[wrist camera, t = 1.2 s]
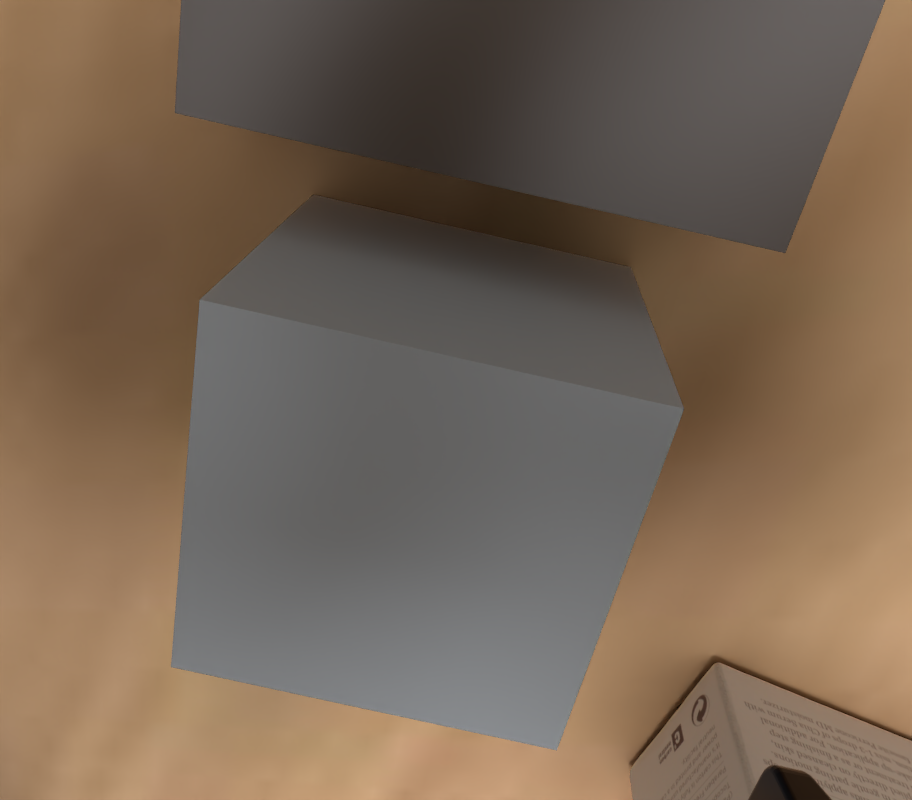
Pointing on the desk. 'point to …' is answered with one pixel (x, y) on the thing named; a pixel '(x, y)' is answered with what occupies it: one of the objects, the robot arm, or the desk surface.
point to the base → (550, 94)
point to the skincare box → (766, 745)
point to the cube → (416, 468)
